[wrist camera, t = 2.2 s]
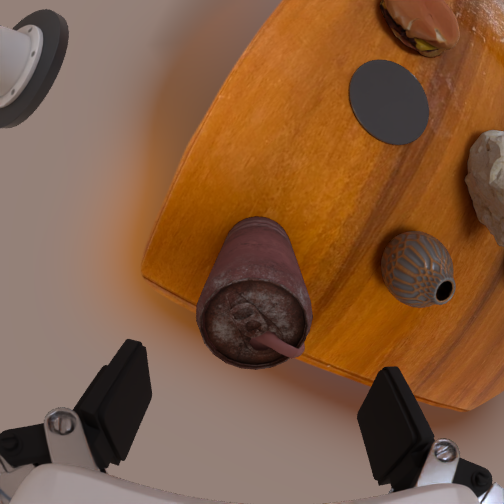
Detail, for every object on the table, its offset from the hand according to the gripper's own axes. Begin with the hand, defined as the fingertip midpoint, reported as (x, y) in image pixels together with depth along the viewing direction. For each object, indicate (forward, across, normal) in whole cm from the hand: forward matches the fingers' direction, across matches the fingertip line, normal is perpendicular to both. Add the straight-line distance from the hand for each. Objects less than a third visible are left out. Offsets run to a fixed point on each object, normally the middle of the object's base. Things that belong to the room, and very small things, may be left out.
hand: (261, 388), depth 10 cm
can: (+18, 0, 0) cm, 18 cm away
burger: (+18, -14, -28) cm, 36 cm away
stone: (+18, -28, -13) cm, 36 cm away
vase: (+18, -14, -1) cm, 23 cm away
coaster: (+18, -10, -17) cm, 27 cm away
